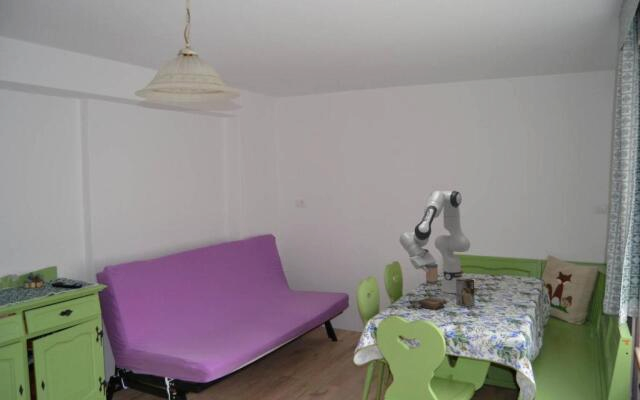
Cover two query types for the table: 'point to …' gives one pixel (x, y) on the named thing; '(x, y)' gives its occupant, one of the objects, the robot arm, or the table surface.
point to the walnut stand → (432, 303)
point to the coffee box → (465, 292)
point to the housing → (432, 274)
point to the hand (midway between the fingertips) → (431, 271)
